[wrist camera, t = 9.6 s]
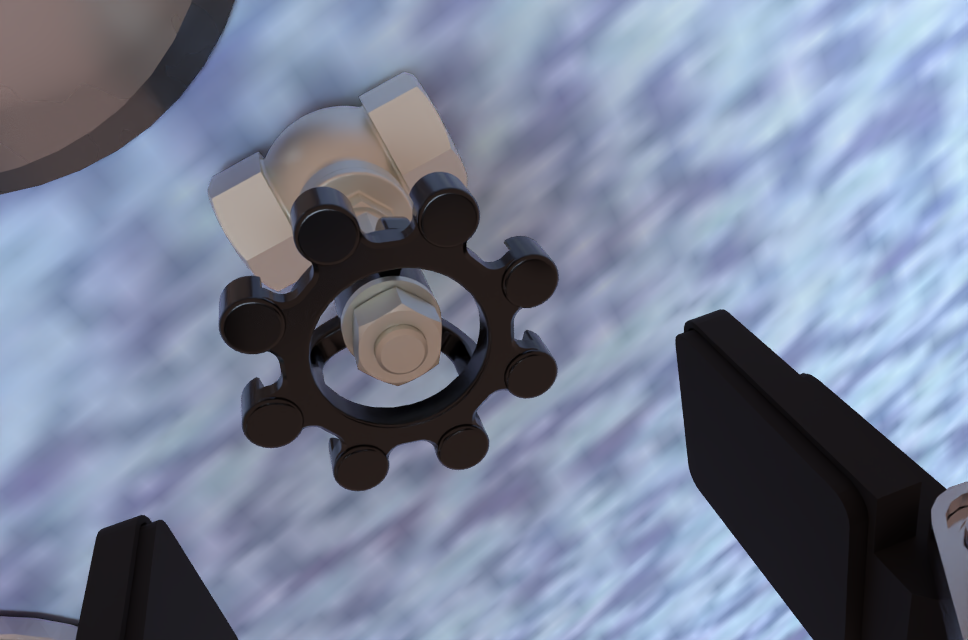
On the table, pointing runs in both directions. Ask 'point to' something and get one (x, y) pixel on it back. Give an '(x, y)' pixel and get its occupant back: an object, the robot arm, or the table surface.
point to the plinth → (135, 100)
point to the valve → (372, 283)
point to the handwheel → (74, 67)
